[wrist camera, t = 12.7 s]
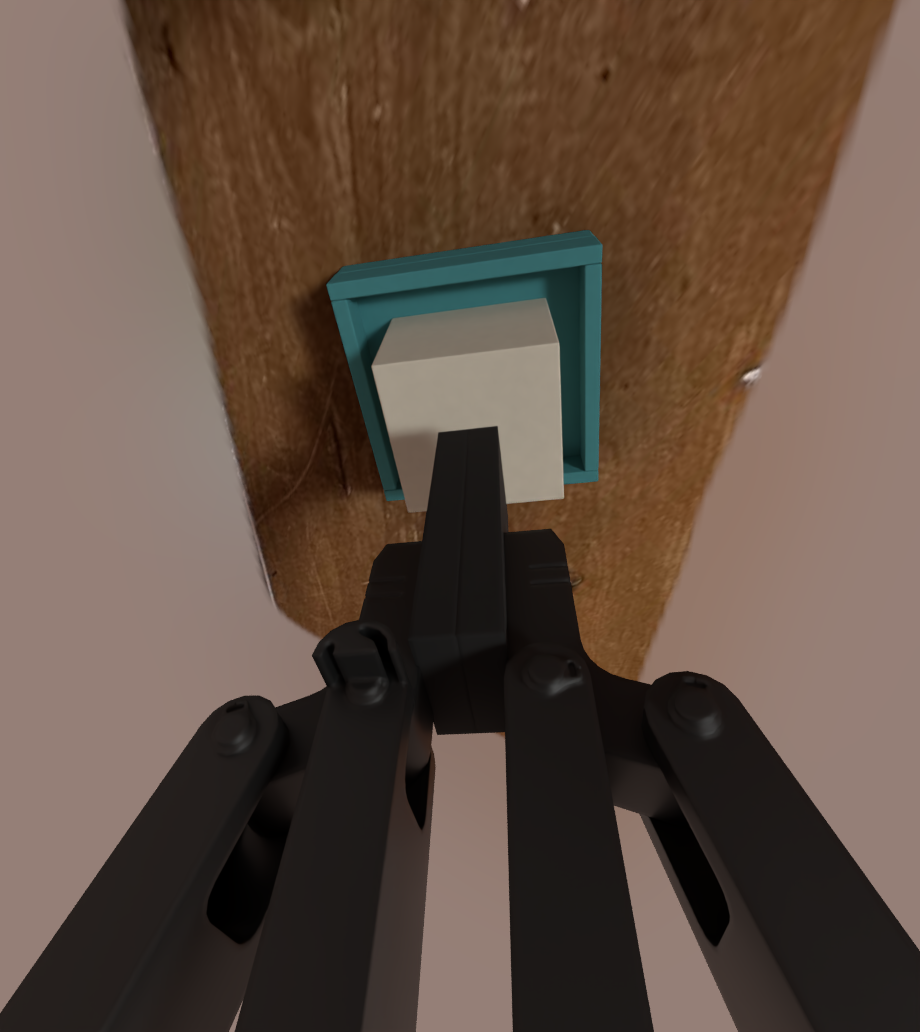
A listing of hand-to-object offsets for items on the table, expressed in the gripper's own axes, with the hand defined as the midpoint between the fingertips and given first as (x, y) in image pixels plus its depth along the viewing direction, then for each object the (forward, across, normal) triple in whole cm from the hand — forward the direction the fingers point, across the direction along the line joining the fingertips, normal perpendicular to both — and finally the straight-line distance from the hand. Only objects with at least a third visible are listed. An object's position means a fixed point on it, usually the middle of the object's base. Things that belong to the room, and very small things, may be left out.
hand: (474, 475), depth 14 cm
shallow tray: (+7, 0, 0) cm, 7 cm away
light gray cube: (+6, 0, 0) cm, 6 cm away
